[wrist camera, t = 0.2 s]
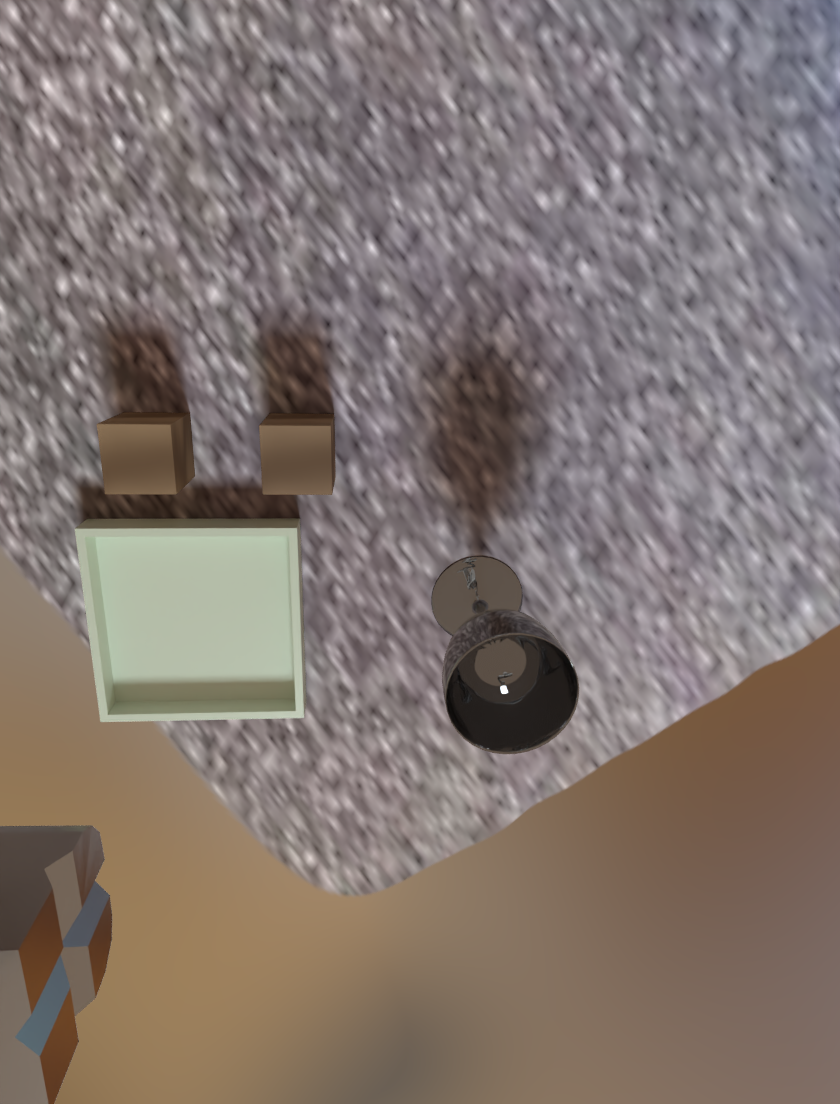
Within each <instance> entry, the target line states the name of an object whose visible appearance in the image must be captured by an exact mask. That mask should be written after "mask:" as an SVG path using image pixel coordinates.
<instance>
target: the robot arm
mask: <svg viewBox="0 0 840 1104" xmlns="http://www.w3.org/2000/svg"><path fill="white" fill-rule="evenodd" d="M104 860H105V859H104V853H103V848H102V842H101V837H100V832H99V831H98V830H96V829H95V828H94V827H93V826H0V1104H54V1103H55V1100H56V1098H57V1095H58V1093H59V1090H60V1088H61V1085H62V1083H63V1080H64V1077H65V1075H66V1072H67V1070H68V1067H69V1065H70V1062H71V1060H72V1057H73V1055H74V1052H75V1050H76V1047H77V1045H78V1042H79V1040H78V1033H77V1028H76V1021H75V1016H76V1015H77V1014H78V1013H79V1012H80V1011H82V1010H83V1009H84V1008H85V1007H86V1006H87V1005H88V1004H90V1002H92V1001H93V1000H94V999H95V998H96V996H97V993H98V990H99V988H100V985H101V982H102V979H103V977H104V974H105V971H106V967H107V961H108V955H109V951H110V946H111V941H112V910H111V902H110V895H109V894H108V893H107V892H106V891H105V890H104V889H103V888H102V887H101V886H99V884H97V883H96V882H95V879H96V877H97V875H98V873H99V870H100V868H101V866H102V864H103V862H104Z"/></svg>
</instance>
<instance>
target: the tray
mask: <svg viewBox="0 0 840 1104" xmlns="http://www.w3.org/2000/svg"><path fill="white" fill-rule="evenodd" d="M75 535H76V542H77V549H78V557H79V564H80V572H81V579H82V587H83V594H84V602H85V609H86V617H87V624H88V632H89V639H90V647H91V654H92V661H93V669H94V676H95V684H96V691H97V699H98V706H99V713H100V721H101V722H125V721H175V720H224V719H273V718H304V714H305V708H306V675H305V646H304V618H303V589H302V561H301V532H300V518H214V519H87V520H85V521H84V522H83V523H81V524H80V525H79V526H78V527H76V528H75Z"/></svg>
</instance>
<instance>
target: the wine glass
mask: <svg viewBox="0 0 840 1104" xmlns="http://www.w3.org/2000/svg"><path fill="white" fill-rule="evenodd" d="M522 598H523V594H522V587H521V584H520V581H519V579H518V578H517V576H516V574H515V573H514V572H513V571H512V570H511V568H509V567H508V566H507V565H506V564H504V563H502V562H501V561H499V560H496V559H493V558H490V557H483V556H477V557H469V558H465V559H462V560H460V561H458V562H456V563H454V564H452V565H451V566H449V567H448V568H447V569H446V570H445V571H444V572H443V573H442V574H441V575H440V577H439V578H438V580H437V581H436V583H435V586H434V588H433V592H432V610H433V614H434V616H435V619H436V620H437V622H438V624H439V625H440V626H441V627H442V628H443V629H444V630H445V631H446V632H447V633H448V634H450V635H452V638H451V640H450V642H449V645H448V647H447V650H446V653H445V658H444V663H443V672H442V684H443V693H444V699H445V704H446V709H447V712H448V715H449V718H450V720H451V723H452V724H453V726H454V727H455V729H456V730H457V732H458V733H459V734H460V735H461V736H462V737H463V738H464V739H465V740H466V741H468V742H469V743H471V744H472V745H474V746H476V747H478V748H480V749H482V750H485V751H489V752H492V753H499V754H517V753H522V752H527V751H530V750H533V749H536V748H538V747H540V746H542V745H544V744H546V743H548V742H549V741H551V740H552V739H553V738H555V737H556V736H557V735H558V734H559V733H560V732H561V731H562V730H563V729H564V728H565V727H566V725H567V724H568V723H569V721H570V720H571V718H572V716H573V714H574V712H575V710H576V706H577V702H578V697H579V683H578V677H577V674H576V671H575V668H574V666H573V664H572V662H571V660H570V659H569V657H568V655H567V653H566V651H565V650H564V648H563V647H562V645H561V644H560V643H559V641H558V640H557V639H556V638H555V636H554V635H553V634H552V633H551V632H550V631H549V630H548V629H547V628H546V627H545V626H543V625H542V624H541V623H540V622H538V621H537V620H535V619H534V618H532V617H530V616H528V615H526V614H525V613H522V612H520V610H521V606H522Z"/></svg>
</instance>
